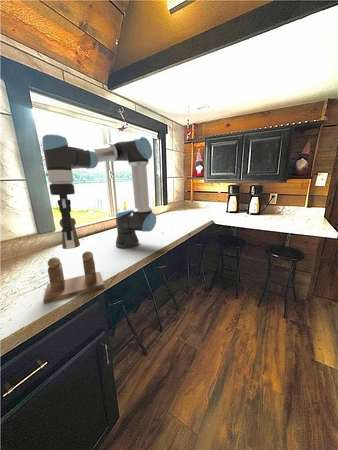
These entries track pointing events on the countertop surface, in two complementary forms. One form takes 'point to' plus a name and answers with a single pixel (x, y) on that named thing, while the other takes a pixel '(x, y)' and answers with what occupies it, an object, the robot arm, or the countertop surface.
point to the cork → (76, 240)
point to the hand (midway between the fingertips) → (70, 245)
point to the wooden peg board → (71, 280)
